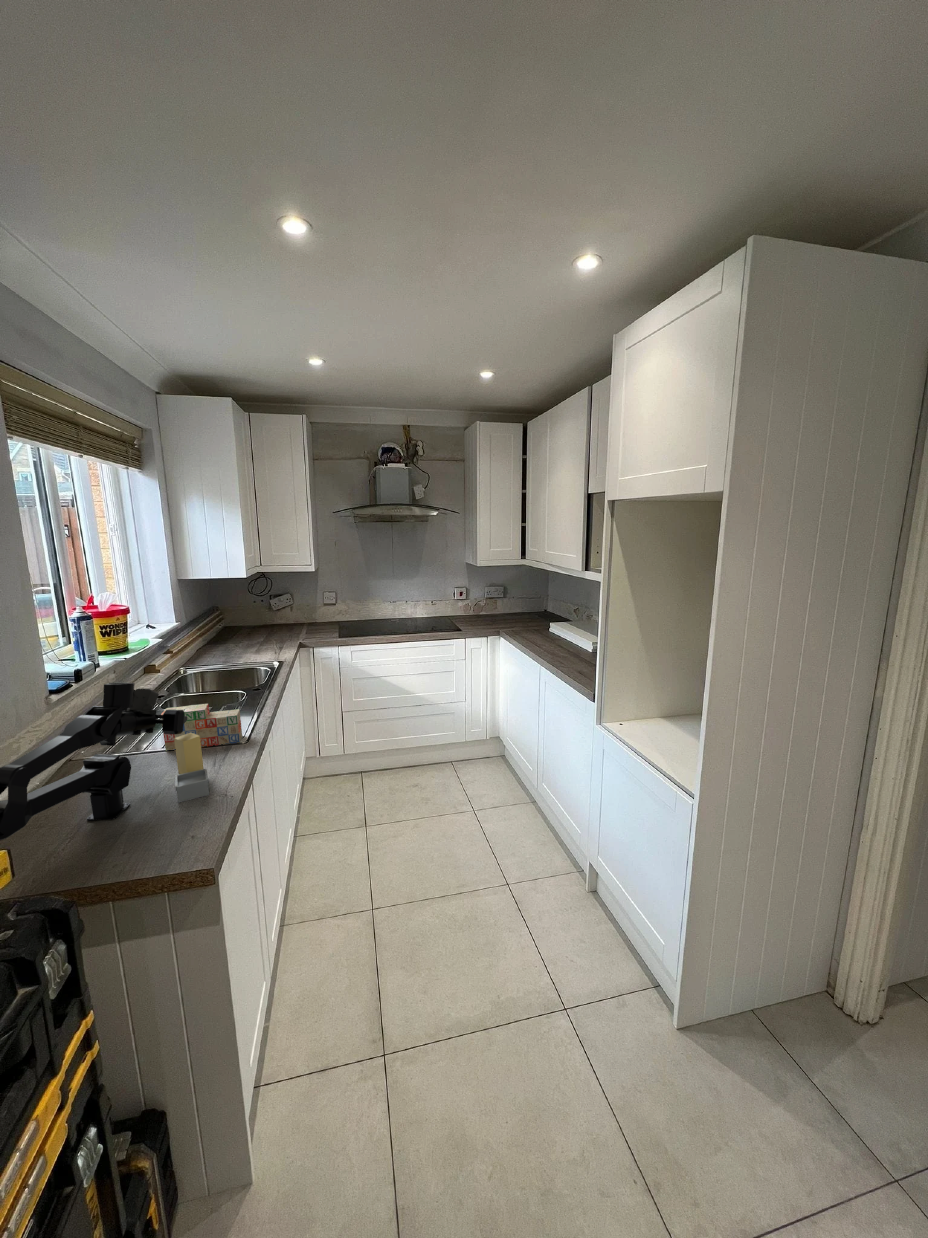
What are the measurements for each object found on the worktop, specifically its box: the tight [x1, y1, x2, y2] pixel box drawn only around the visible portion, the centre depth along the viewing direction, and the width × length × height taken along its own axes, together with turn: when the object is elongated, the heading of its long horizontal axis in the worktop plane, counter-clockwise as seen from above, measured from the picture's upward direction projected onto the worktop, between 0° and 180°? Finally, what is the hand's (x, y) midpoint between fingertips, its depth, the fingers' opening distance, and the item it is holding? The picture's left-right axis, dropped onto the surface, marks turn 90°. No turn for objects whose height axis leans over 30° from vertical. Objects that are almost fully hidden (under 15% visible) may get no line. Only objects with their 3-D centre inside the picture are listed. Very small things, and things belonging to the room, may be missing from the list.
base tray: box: [174, 768, 210, 804], centre depth 128 cm, size 7×7×4 cm
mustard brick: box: [174, 733, 205, 775], centre depth 135 cm, size 4×4×12 cm
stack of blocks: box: [160, 703, 243, 752], centre depth 158 cm, size 21×6×12 cm, turn 106°
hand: (172, 717), depth 140 cm, fingers open, 9 cm apart
